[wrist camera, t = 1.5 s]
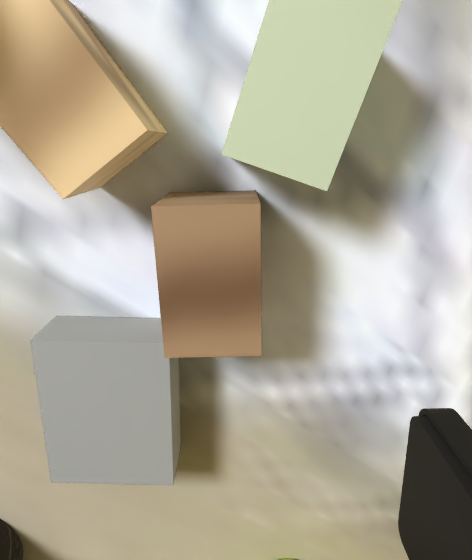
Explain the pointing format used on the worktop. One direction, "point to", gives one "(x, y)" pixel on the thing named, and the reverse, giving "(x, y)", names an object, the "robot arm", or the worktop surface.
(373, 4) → the sage block
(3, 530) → the travel mug
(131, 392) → the slate block
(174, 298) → the walnut block
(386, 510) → the worktop surface
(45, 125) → the oak block
